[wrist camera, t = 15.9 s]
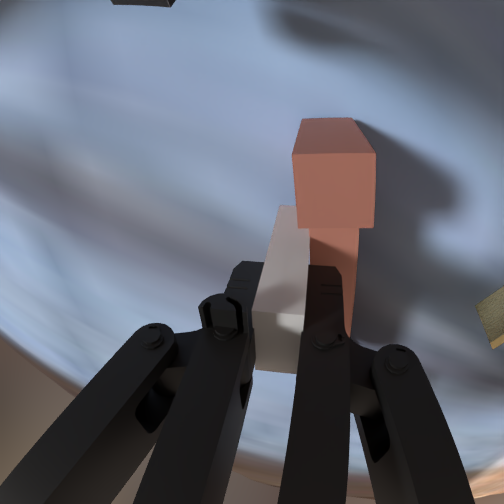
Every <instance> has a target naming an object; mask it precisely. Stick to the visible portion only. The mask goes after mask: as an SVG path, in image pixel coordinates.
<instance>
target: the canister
mask: <svg viewBox="0 0 504 504" xmlns="http://www.w3.org/2000/svg"><path fill="white" fill-rule="evenodd" d="M175 1H176V0H111V2H112V3H113V4H114V5H144V6H160V7H171V6H172V5H173V3H174V2H175Z"/></svg>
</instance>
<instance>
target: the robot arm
mask: <svg viewBox="0 0 504 504" xmlns="http://www.w3.org/2000/svg"><path fill="white" fill-rule="evenodd" d="M309 245H310V237H309V228H303V229H298V223H297V209H296V206H289V205H280V206H279V210H278V213H277V217H276V221H275V225H274V229H273V233H272V236H271V240H270V244H269V248H268V251H267V255H266V259H265V262H251V261H242V262H241V263H239V264H238V265H237V266H236V267H235V268H234V269H233V272H232V274H231V277H230V280H229V282H228V284H227V288H226V290H225V292H224V293H221V294H216V295H212V296H209V297H208V298H206V299H205V300H203V301H202V302H201V304H200V305H199V306H198V309H199V313H200V318H201V322H202V327H203V328H202V329H199V330H197V331H192V332H185V333H175V334H174V332H173V331H172V329H171V328H170V327H168V326H167V325H165V324H161V323H151V324H148V325H145V326H142V327H141V328H140V329H138V330H137V331H136V332H135V333H134V334H133V335H132V336H131V337H130V338H129V339H128V340H127V341H126V343H125V344H124V345H123V346H122V347H121V348H120V349H119V350H118V351H117V352H116V353H115V354H114V356H113V357H112V358H111V359H110V360H109V361H108V362H107V363H106V364H105V365H104V366H103V368H102V369H101V370H100V371H99V372H98V373H97V374H96V375H95V376H94V377H93V379H92V380H91V381H90V382H89V383H88V384H87V385H86V386H85V387H84V389H83V390H82V391H81V392H80V393H79V394H78V395H77V396H76V398H75V399H74V400H73V401H72V402H71V403H70V404H69V406H68V407H67V408H66V409H65V410H64V411H63V412H62V414H61V415H60V416H59V417H58V418H57V419H56V420H55V421H54V423H53V424H52V425H51V426H50V427H49V428H48V429H47V431H46V432H45V433H44V434H43V435H42V437H41V438H40V439H39V440H38V441H37V442H36V443H35V445H34V446H33V447H32V448H31V449H30V451H29V452H28V453H27V454H26V455H25V456H24V458H23V459H22V460H21V461H20V463H19V464H18V465H17V466H16V467H15V468H14V470H13V471H12V472H11V473H10V474H9V476H8V477H7V478H6V479H5V481H4V482H3V483H2V485H1V486H0V504H111V502H112V501H113V500H114V498H115V497H116V496H117V495H118V493H119V492H120V491H121V489H122V488H123V487H124V485H125V484H126V483H127V481H128V480H129V479H130V477H131V476H132V475H133V473H134V472H135V471H136V469H137V468H138V466H139V465H140V464H141V462H142V461H143V460H144V458H145V457H146V456H147V454H148V453H149V451H150V450H151V449H152V447H153V446H154V445H155V443H156V445H155V447H154V450H153V453H152V455H151V458H150V460H149V463H148V465H147V468H146V471H145V473H144V476H143V478H142V481H141V483H140V486H139V489H138V491H137V494H136V497H135V499H134V502H133V504H223V501H224V497H225V493H226V489H227V486H228V482H229V478H230V474H231V470H232V467H233V463H234V459H235V455H236V451H237V447H238V443H239V439H240V435H241V431H242V427H243V423H244V419H245V414H246V410H247V406H248V402H249V398H250V393H251V389H252V385H253V377H252V373H253V369H254V365H255V370H263V371H272V372H281V373H291V374H297V376H296V386H295V394H294V402H293V410H292V417H291V424H290V431H289V438H288V444H287V451H286V457H285V463H284V469H283V475H282V481H281V487H280V492H279V497H278V504H345V502H346V492H347V479H348V464H349V442H350V412H351V413H353V414H354V417H355V421H356V424H357V428H358V432H359V436H360V439H361V443H362V447H363V451H364V455H365V459H366V463H367V467H368V471H369V475H370V480H371V484H372V488H373V492H374V497H375V501H376V504H475V502H474V498H473V495H472V492H471V488H470V485H469V482H468V479H467V476H466V473H465V470H464V467H463V464H462V461H461V459H460V456H459V453H458V450H457V448H456V445H455V442H454V440H453V437H452V434H451V432H450V429H449V427H448V424H447V422H446V419H445V417H444V415H443V412H442V410H441V407H440V405H439V403H438V400H437V398H436V396H435V394H434V391H433V389H432V387H431V385H430V382H429V380H428V378H427V376H426V374H425V371H424V369H423V367H422V365H421V363H420V361H419V359H418V357H417V356H416V355H415V353H414V352H413V351H412V350H410V349H409V348H407V347H405V346H402V345H399V344H389V345H387V346H384V347H382V348H381V349H380V350H379V351H374V350H371V349H368V348H365V347H362V346H360V345H358V344H356V343H355V342H353V341H352V340H351V339H350V338H349V336H348V335H347V333H346V330H345V322H344V302H343V288H342V275H341V274H340V272H339V271H338V269H337V268H336V266H322V265H308V262H309Z"/></svg>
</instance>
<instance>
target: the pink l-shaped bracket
mask: <svg viewBox="0 0 504 504" xmlns="http://www.w3.org/2000/svg"><path fill="white" fill-rule="evenodd" d="M292 162H293V173H294V184H295V196H296V209H297V223H298V229H303V228H309V237H310V265H322V266H336V268H337V269H338V271H339V272H340V274H341V275H342V288H343V302H344V322H345V330H346V333H347V335H348V336H349V338H350V332H351V324H352V315H353V306H354V296H355V285H356V273H357V259H358V243H359V228H373V227H374V210H375V185H376V153H375V151H374V150H373V148H372V146H371V145H370V143H369V142H368V140H367V139H366V137H365V136H364V134H363V133H362V132H361V130H360V129H359V127H358V126H357V124H356V123H355V121H354V120H353V119H352V118H311V119H302V121H301V124H300V128H299V131H298V135H297V138H296V142H295V145H294V149H293V152H292Z"/></svg>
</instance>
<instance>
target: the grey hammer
mask: <svg viewBox="0 0 504 504" xmlns="http://www.w3.org/2000/svg"><path fill="white" fill-rule="evenodd" d="M475 307H476V309H477V312H478V314H479V316H480V319H481V321H482V324H483V326H484V329H485V331H486V334H487V336H488V339H489V342H490V344H491V347H492V349H494V348H496V347H498V346H499V345H501V344H502V343H504V286H503V287H502V288H500V289H499V290H497V291H496V292H494V293H493V294H492V295H490V296H489V297H487V298H486V299H484V300H483V301H481V302H480V303H478V304H477V305H475Z"/></svg>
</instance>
